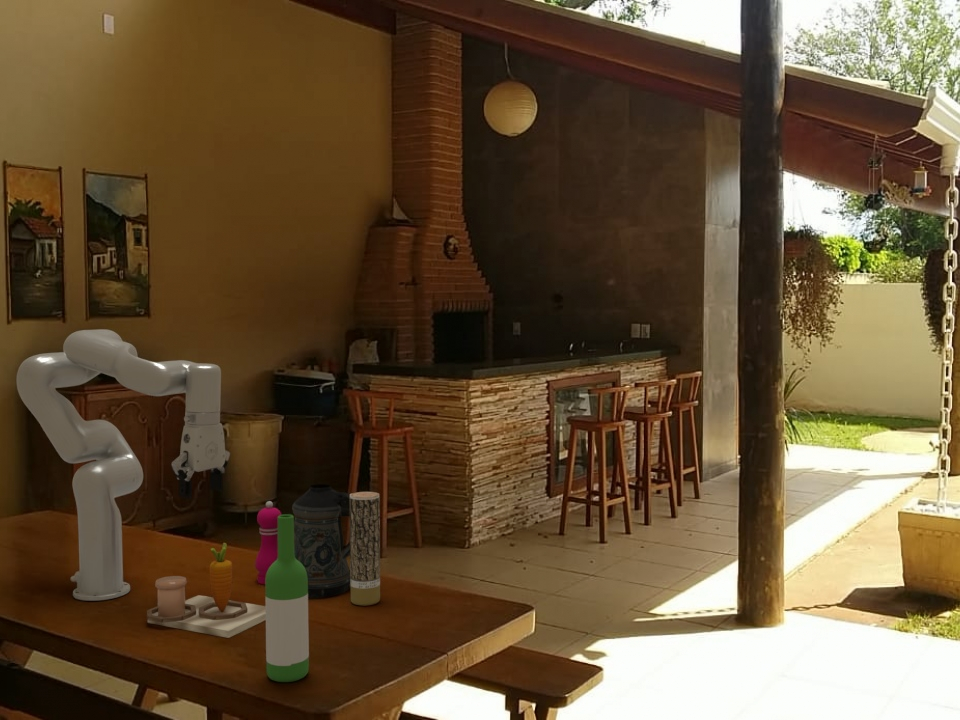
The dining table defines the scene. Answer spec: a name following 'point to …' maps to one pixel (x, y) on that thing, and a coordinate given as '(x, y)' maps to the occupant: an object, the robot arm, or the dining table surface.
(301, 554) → the beer stein
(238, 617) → the stand
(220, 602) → the carrot
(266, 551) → the pepper mill
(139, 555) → the dining table surface
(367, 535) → the paper tube
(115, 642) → the dining table surface
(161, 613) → the pink lidded jar
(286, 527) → the wine bottle
